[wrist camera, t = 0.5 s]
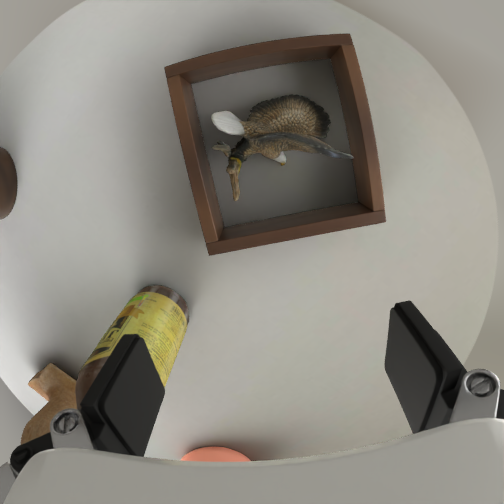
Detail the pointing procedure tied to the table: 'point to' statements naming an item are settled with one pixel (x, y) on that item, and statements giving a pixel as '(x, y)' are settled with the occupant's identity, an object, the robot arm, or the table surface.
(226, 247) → the crate
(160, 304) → the sauce bottle
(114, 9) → the table surface
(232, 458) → the teapot
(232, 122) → the eagle figurine
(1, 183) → the stand
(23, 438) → the tan boot-shaped piece
